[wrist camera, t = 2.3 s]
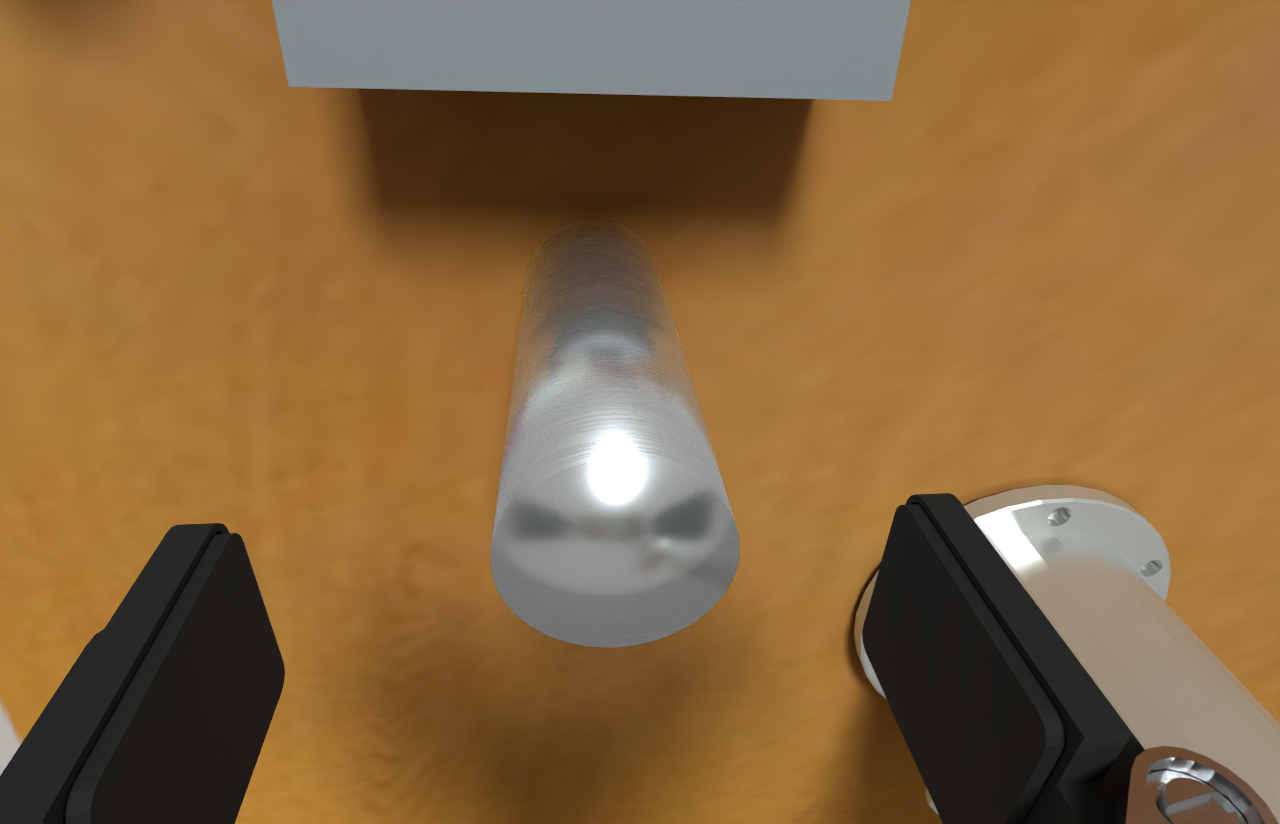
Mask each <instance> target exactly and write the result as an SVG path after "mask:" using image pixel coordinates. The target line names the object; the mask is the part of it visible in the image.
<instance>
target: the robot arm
mask: <svg viewBox="0 0 1280 824" xmlns="http://www.w3.org/2000/svg"><path fill="white" fill-rule="evenodd" d="M1170 576H1171V568H1170V559H1169V553H1168V550H1167V548H1166V546H1165V544H1164V541H1163V539H1162V537H1161V535H1160V534H1159V533H1158V532H1157V531H1156V530H1155V529H1154V528H1153V526H1152V525H1151V524H1150V523H1149V522H1148V521H1147V520H1146V519H1145V518H1144V517H1143V516H1142V515H1141V514H1140V513H1139V512H1137V511H1136V510H1135V509H1134V508H1132V507H1131V506H1130V505H1129V504H1127V503H1126V502H1125V501H1124V500H1121V499H1119V498H1117V497H1115V496H1112V495H1110V494H1108V493H1105V492H1103V491H1100V490H1095V489H1090V488H1085V487H1080V486H1075V485H1041V486H1034V487H1027V488H1020V489H1013V490H1009V491H1006V492H1002V493H999V494H995V495H992V496H988V497H985V498H982V499H979V500H976V501H974V502H972V503H970V504H967V505H965V506H963V505H962V504H961V503H960V501H959V500H958V499H957V498H956V497H955V496H954V495H952V494H950V493H944V494H920V495H912V496H911V497H910V498H909V499H908V500H907V502H906V505H900V506H899V507H898V508H897V510H896V512H895V515H894V519H893V522H892V526H891V529H890V533H889V536H888V540H887V543H886V547H885V551H884V554H883V558H882V561H881V565H880V568H879V570H878V571H877V573H876V575H875V576H874V578H873V579H872V581H871V582H870V584H869V585H868V587H867V589H866V590H865V592H864V594H863V597H862V600H861V602H860V605H859V607H858V610H857V613H856V620H855V627H854V639H855V645H856V652H857V654H858V657H859V659H860V661H861V664H862V666H863V669H864V671H865V674H866V676H867V678H868V679H869V681H870V682H871V684H872V685H873V687H874V688H875V690H876V691H877V692H878V693H879V694H881V695H882V696H883V697H884V698H885V699H886V700H887V701H888V703H889V705H890V707H891V710H892V712H893V714H894V716H895V718H896V721H897V723H898V725H899V727H900V730H901V732H902V734H903V736H904V738H905V741H906V743H907V745H908V747H909V749H910V752H911V754H912V756H913V758H914V761H915V763H916V765H917V767H918V769H919V772H920V774H921V776H922V778H923V780H924V783H925V785H926V790H925V797H926V799H927V802H928V804H929V806H930V807H931V808H932V809H933V810H934V811H935V812H936V813H937V814H938V815H939V816H940V818H941V820H942V822H943V824H1280V724H1279V723H1278V722H1277V721H1276V720H1275V719H1274V717H1273V716H1272V715H1271V714H1270V713H1269V712H1268V711H1267V710H1266V709H1265V708H1264V707H1263V706H1262V705H1261V704H1260V703H1259V702H1258V700H1257V699H1256V698H1255V697H1254V696H1253V695H1252V694H1251V693H1250V692H1249V691H1248V690H1247V689H1246V688H1245V687H1244V686H1243V685H1242V683H1241V682H1240V681H1239V680H1238V679H1237V678H1236V677H1235V676H1234V675H1233V674H1232V673H1231V672H1230V671H1229V670H1228V669H1227V668H1226V666H1225V665H1224V664H1223V663H1222V662H1221V661H1220V660H1219V659H1218V658H1217V657H1216V656H1215V655H1214V654H1213V653H1212V652H1211V651H1210V649H1209V648H1208V647H1207V646H1206V645H1205V644H1204V643H1203V642H1202V641H1201V640H1200V639H1199V638H1198V637H1197V636H1196V635H1195V634H1194V632H1193V631H1192V630H1191V629H1190V628H1189V627H1188V626H1187V625H1186V624H1185V623H1184V622H1183V621H1182V620H1181V619H1180V618H1179V617H1178V615H1177V614H1176V613H1175V612H1174V611H1173V610H1172V609H1171V608H1170V607H1169V606H1168V605H1167V604H1166V603H1165V602H1164V601H1165V599H1166V597H1167V593H1168V587H1169V582H1170ZM284 675H285V670H284V663H283V659H282V656H281V653H280V650H279V647H278V644H277V641H276V638H275V635H274V632H273V629H272V626H271V623H270V620H269V617H268V614H267V611H266V608H265V605H264V602H263V599H262V596H261V593H260V590H259V587H258V584H257V581H256V578H255V575H254V572H253V569H252V566H251V563H250V560H249V557H248V554H247V551H246V548H245V545H244V542H243V540H242V538H241V536H240V535H239V534H237V533H229V531H228V529H227V527H226V526H225V525H224V524H220V523H212V524H188V525H176V526H173V527H171V529H170V530H169V531H168V532H167V533H166V535H165V536H164V538H163V539H162V541H161V543H160V544H159V546H158V547H157V549H156V550H155V552H154V553H153V555H152V556H151V558H150V559H149V561H148V563H147V564H146V566H145V567H144V569H143V570H142V572H141V573H140V575H139V576H138V578H137V580H136V581H135V583H134V584H133V586H132V587H131V589H130V590H129V592H128V593H127V595H126V596H125V598H124V600H123V601H122V603H121V604H120V606H119V607H118V609H117V610H116V612H115V613H114V615H113V616H112V618H111V620H110V621H109V623H108V624H107V626H106V627H105V629H104V630H102V631H100V632H99V633H97V634H96V635H95V636H94V637H93V638H92V639H91V641H90V642H89V643H88V644H87V645H86V647H85V648H84V650H83V651H82V653H81V654H80V656H79V657H78V659H77V660H76V662H75V664H74V665H73V667H72V668H71V670H70V671H69V673H68V674H67V676H66V677H65V679H64V680H63V682H62V683H61V685H60V686H59V688H58V689H57V691H56V692H55V694H54V695H53V697H52V698H51V700H50V701H49V703H48V704H47V706H46V707H45V709H44V710H43V712H42V714H41V715H40V717H39V718H38V720H37V721H36V723H35V724H34V726H33V727H32V729H31V730H30V732H29V733H28V735H27V736H26V738H25V739H24V741H23V742H22V744H21V745H20V747H19V748H18V750H17V751H16V753H15V754H14V756H13V758H12V759H11V761H10V762H9V764H8V765H7V767H6V768H5V770H4V771H3V773H2V774H1V776H0V824H235V821H236V818H237V815H238V812H239V810H240V807H241V804H242V801H243V798H244V796H245V793H246V790H247V787H248V784H249V782H250V779H251V776H252V773H253V770H254V768H255V765H256V762H257V759H258V756H259V754H260V751H261V748H262V745H263V742H264V740H265V737H266V734H267V731H268V728H269V725H270V723H271V720H272V717H273V714H274V711H275V709H276V706H277V703H278V700H279V697H280V695H281V692H282V688H283V684H284Z"/></svg>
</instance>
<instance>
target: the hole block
mask: <svg viewBox="0 0 1280 824" xmlns="http://www.w3.org/2000/svg"><path fill="white" fill-rule="evenodd" d="M910 3H911V0H272V4H273V9H274V14H275V19H276V24H277V29H278V34H279V39H280V44H281V50H282V55H283V60H284V65H285V70H286V75H287V80H288V85H289V87H323V88H366V89H409V90H451V91H494V92H537V93H579V94H622V95H665V96H707V97H750V98H793V99H835V100H878V101H891V100H892V95H893V90H894V85H895V80H896V75H897V69H898V64H899V59H900V54H901V49H902V44H903V39H904V34H905V28H906V23H907V18H908V13H909V8H910Z"/></svg>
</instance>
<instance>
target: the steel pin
mask: <svg viewBox="0 0 1280 824" xmlns="http://www.w3.org/2000/svg"><path fill="white" fill-rule="evenodd" d="M739 551H740V543H739V534H738V530H737V527H736V524H735V520H734V517H733V514H732V510H731V507H730V504H729V501H728V497H727V494H726V491H725V487H724V484H723V481H722V478H721V474H720V471H719V468H718V464H717V461H716V458H715V455H714V451H713V448H712V445H711V441H710V438H709V435H708V432H707V428H706V425H705V422H704V418H703V415H702V412H701V409H700V405H699V402H698V399H697V395H696V392H695V389H694V386H693V382H692V379H691V376H690V372H689V369H688V366H687V362H686V359H685V356H684V353H683V349H682V346H681V343H680V339H679V336H678V333H677V330H676V326H675V323H674V320H673V316H672V313H671V310H670V307H669V303H668V300H667V297H666V293H665V290H664V287H663V284H662V280H661V277H660V274H659V270H658V267H657V264H656V261H655V258H654V256H653V254H652V252H651V251H650V249H649V248H648V246H647V245H646V244H645V243H644V241H643V240H642V239H641V238H640V237H639V236H637V235H636V234H635V233H634V232H632V231H631V230H629V229H628V228H626V227H624V226H622V225H620V224H617V223H614V222H611V221H606V220H599V219H586V220H579V221H574V222H571V223H568V224H566V225H564V226H562V227H559V228H558V229H556V230H555V231H553V232H552V233H550V234H549V235H548V236H547V237H546V238H544V239H543V241H542V242H541V243H540V244H539V245H538V247H537V248H536V250H535V251H534V253H533V255H532V257H531V259H530V262H529V265H528V268H527V274H526V281H525V288H524V296H523V304H522V312H521V320H520V327H519V335H518V343H517V351H516V359H515V366H514V374H513V382H512V390H511V398H510V405H509V413H508V421H507V429H506V436H505V444H504V452H503V460H502V468H501V475H500V483H499V491H498V499H497V507H496V514H495V522H494V530H493V538H492V546H491V571H492V576H493V580H494V582H495V585H496V588H497V590H498V592H499V594H500V595H501V597H502V599H503V601H504V602H505V603H506V604H507V606H508V607H509V608H510V609H511V611H513V612H514V613H515V614H516V615H517V616H518V617H519V618H520V619H521V620H522V621H524V622H525V623H527V624H528V625H529V626H531V627H532V628H534V629H536V630H538V631H540V632H541V633H543V634H545V635H548V636H550V637H553V638H555V639H558V640H561V641H565V642H568V643H572V644H577V645H582V646H590V647H625V646H633V645H638V644H644V643H648V642H651V641H655V640H658V639H661V638H664V637H666V636H669V635H672V634H674V633H676V632H678V631H680V630H682V629H684V628H686V627H687V626H689V625H691V624H692V623H694V622H695V621H697V620H698V619H699V618H701V617H702V616H703V615H705V614H706V613H707V612H708V611H709V610H710V609H711V608H712V607H713V606H714V605H715V604H716V603H717V602H718V601H719V600H720V598H721V597H722V596H723V595H724V593H725V592H726V590H727V588H728V587H729V585H730V583H731V582H732V579H733V577H734V574H735V572H736V569H737V565H738V560H739Z"/></svg>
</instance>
